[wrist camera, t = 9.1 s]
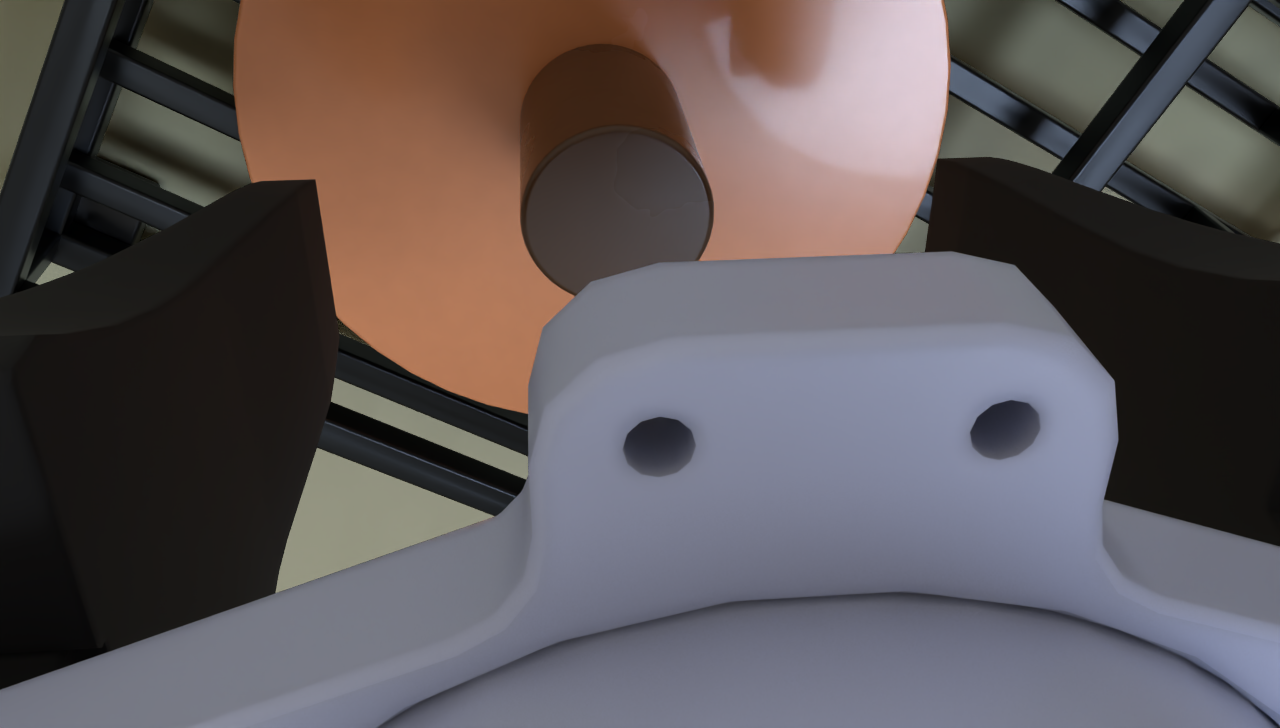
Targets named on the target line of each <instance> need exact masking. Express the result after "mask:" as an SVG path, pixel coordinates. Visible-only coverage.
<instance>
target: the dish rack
mask: <svg viewBox="0 0 1280 728" xmlns="http://www.w3.org/2000/svg"><path fill="white" fill-rule="evenodd" d="M233 1H235V2H237V3H239V4H240V0H233ZM1055 1H1057V2H1058V3H1060V4H1061V5H1063V6H1064V7H1066V8H1067V9H1069V10H1070V11H1072V12H1073V13H1075V14H1077V15H1078V16H1080V17H1081V18H1083V19H1084V20H1086V21H1087V22H1089V23H1090V24H1092V25H1093V26H1095V27H1097V28H1098V29H1100V30H1101V31H1103V32H1104V33H1106V34H1107V35H1109V36H1110V37H1112V38H1113V39H1115V40H1117V41H1118V42H1120V43H1121V44H1123V45H1124V46H1126V47H1127V48H1129V49H1130V50H1132V51H1134V52H1135V53H1137V54H1138V55H1140V56H1141V57H1140V59H1139V60H1138V61H1137V63H1136V64H1135V65H1134V67H1133V68H1132V69H1131V71H1130V72H1129V73H1128V74H1127V76H1126V77H1125V78H1124V80H1123V81H1122V82H1121V84H1120V85H1119V86H1118V87H1117V89H1116V90H1115V91H1114V93H1113V94H1112V95H1111V97H1110V98H1109V99H1108V101H1107V102H1106V103H1105V104H1104V106H1103V107H1102V108H1101V110H1100V111H1099V112H1098V114H1097V115H1096V116H1095V118H1094V119H1093V120H1092V121H1091V123H1090V124H1089V125H1088V127H1087V128H1086V129H1085V131H1084V132H1083V133H1082V134H1081V133H1080V132H1078V131H1077V130H1075V129H1073V128H1072V127H1070V126H1068V125H1067V124H1065V123H1063V122H1062V121H1060V120H1058V119H1057V118H1055V117H1054V116H1052V115H1050V114H1049V113H1047V112H1045V111H1044V110H1042V109H1040V108H1039V107H1037V106H1035V105H1034V104H1032V103H1030V102H1029V101H1027V100H1026V99H1024V98H1022V97H1021V96H1019V95H1017V94H1016V93H1014V92H1012V91H1011V90H1009V89H1007V88H1006V87H1004V86H1002V85H1001V84H999V83H998V82H996V81H994V80H993V79H991V78H989V77H988V76H986V75H984V74H983V73H981V72H979V71H978V70H976V69H974V68H973V67H971V66H970V65H968V64H966V63H965V62H963V61H961V60H960V59H958V58H956V57H955V56H953V55H951V54H950V61H951V70H950V84H949V94H950V95H952V96H954V97H955V98H957V99H959V100H961V101H962V102H964V103H966V104H967V105H969V106H971V107H972V108H974V109H976V110H977V111H979V112H981V113H982V114H984V115H986V116H987V117H989V118H991V119H993V120H994V121H996V122H998V123H999V124H1001V125H1003V126H1004V127H1006V128H1008V129H1009V130H1011V131H1013V132H1014V133H1016V134H1018V135H1020V136H1021V137H1023V138H1025V139H1026V140H1028V141H1030V142H1031V143H1033V144H1035V145H1036V146H1038V147H1040V148H1041V149H1043V150H1045V151H1046V152H1048V153H1050V154H1052V155H1053V156H1055V157H1057V158H1058V159H1060V160H1062V161H1061V162H1060V163H1059V165H1058V166H1057V167H1056V169H1055V170H1054V171H1053V172H1052V174H1054V175H1056V176H1059V177H1062V178H1065V179H1067V180H1070V181H1073V182H1076V183H1078V184H1081V185H1084V186H1086V187H1089V188H1092V189H1095V190H1097V191H1100V192H1101V191H1102V190H1103V189H1104V187H1107V188H1109V189H1111V190H1112V191H1114V192H1116V193H1117V194H1119V195H1121V196H1122V197H1124V198H1126V199H1127V200H1129V201H1131V202H1132V203H1134V204H1137V205H1140V206H1143V207H1145V208H1148V209H1151V210H1155V211H1158V212H1161V213H1164V214H1167V215H1171V216H1174V217H1177V218H1180V219H1183V220H1187V221H1190V222H1193V223H1197V224H1200V225H1204V226H1207V227H1211V228H1215V229H1219V230H1222V231H1227V232H1231V233H1235V234H1240V235H1244V236H1248V237H1251V236H1249V235H1248V234H1246V233H1245V232H1243V231H1241V230H1240V229H1238V228H1236V227H1235V226H1233V225H1231V224H1230V223H1228V222H1226V221H1225V220H1223V219H1221V218H1220V217H1218V216H1217V215H1215V214H1213V213H1212V212H1210V211H1208V210H1207V209H1205V208H1203V207H1202V206H1200V205H1198V204H1197V203H1195V202H1193V201H1192V200H1190V199H1189V198H1187V197H1185V196H1184V195H1182V194H1180V193H1179V192H1177V191H1175V190H1174V189H1172V188H1170V187H1169V186H1167V185H1165V184H1164V183H1162V182H1161V181H1159V180H1157V179H1156V178H1154V177H1152V176H1151V175H1149V174H1147V173H1146V172H1144V171H1142V170H1141V169H1139V168H1137V167H1136V166H1134V165H1133V164H1131V163H1129V162H1128V161H1126V160H1127V158H1128V157H1129V156H1130V155H1131V153H1132V152H1133V151H1134V150H1135V148H1136V147H1137V146H1138V144H1139V143H1140V142H1141V141H1142V139H1143V138H1144V137H1145V136H1146V134H1147V133H1148V132H1149V131H1150V129H1151V128H1152V127H1153V126H1154V124H1155V123H1156V122H1157V120H1158V119H1159V118H1160V117H1161V115H1162V114H1163V113H1164V112H1165V110H1166V109H1167V108H1168V107H1169V105H1170V104H1171V103H1172V102H1173V100H1174V99H1175V98H1176V96H1177V95H1178V94H1179V93H1180V91H1181V90H1182V89H1183V88H1184V86H1185V85H1186V86H1187V87H1189V88H1190V89H1192V90H1194V91H1195V92H1197V93H1198V94H1200V95H1201V96H1203V97H1204V98H1206V99H1207V100H1209V101H1210V102H1212V103H1214V104H1215V105H1217V106H1218V107H1220V108H1221V109H1223V110H1224V111H1226V112H1227V113H1229V114H1231V115H1232V116H1234V117H1235V118H1237V119H1238V120H1240V121H1241V122H1243V123H1244V124H1246V125H1247V126H1249V127H1251V128H1252V129H1254V130H1255V131H1257V132H1258V133H1260V134H1261V135H1263V136H1264V137H1266V138H1267V139H1269V140H1271V141H1272V142H1274V143H1275V144H1277V145H1278V146H1280V107H1279V106H1277V105H1276V104H1274V103H1273V102H1271V101H1270V100H1268V99H1267V98H1265V97H1264V96H1262V95H1261V94H1259V93H1258V92H1256V91H1255V90H1253V89H1252V88H1250V87H1249V86H1247V85H1246V84H1244V83H1243V82H1241V81H1240V80H1238V79H1237V78H1235V77H1234V76H1232V75H1231V74H1229V73H1228V72H1226V71H1225V70H1223V69H1222V68H1220V67H1219V66H1217V65H1216V64H1214V63H1213V62H1211V61H1210V60H1208V59H1207V57H1208V56H1209V55H1210V54H1211V52H1212V51H1213V50H1214V48H1215V47H1216V46H1217V45H1218V43H1219V42H1220V41H1221V40H1222V38H1223V37H1224V36H1225V35H1226V33H1227V32H1228V31H1229V30H1230V28H1231V27H1232V26H1233V24H1234V23H1235V22H1236V21H1237V19H1238V18H1239V17H1240V16H1241V14H1242V13H1243V12H1244V11H1245V9H1246V8H1247V7H1248V6H1250V7H1252V8H1253V9H1255V10H1256V11H1258V12H1259V13H1261V14H1262V15H1263V16H1265V17H1266V18H1268V19H1269V20H1271V21H1272V22H1273V23H1275V24H1276V25H1278V26H1279V27H1280V0H1184V1H1183V3H1182V4H1181V5H1180V6H1179V8H1178V9H1177V10H1176V12H1175V13H1174V14H1173V16H1172V17H1171V18H1170V20H1169V21H1168V22H1167V23H1166V25H1165V26H1164V27H1163V29H1162V28H1160V27H1159V26H1157V25H1156V24H1154V23H1153V22H1151V21H1150V20H1148V19H1147V18H1145V17H1144V16H1142V15H1141V14H1139V13H1138V12H1136V11H1135V10H1133V9H1132V8H1130V7H1129V6H1127V5H1126V4H1124V3H1123V2H1121V1H1120V0H1055ZM153 2H154V0H65V1H64V4H63V7H62V10H61V13H60V16H59V19H58V22H57V25H56V28H55V31H54V34H53V37H52V40H51V43H50V46H49V49H48V52H47V55H46V58H45V61H44V64H43V67H42V70H41V73H40V76H39V79H38V82H37V85H36V88H35V91H34V94H33V97H32V100H31V103H30V106H29V109H28V112H27V115H26V118H25V121H24V124H23V127H22V130H21V133H20V136H19V139H18V142H17V145H16V148H15V151H14V154H13V157H12V160H11V163H10V166H9V169H8V172H7V175H6V178H5V181H4V184H3V187H2V190H1V193H0V297H4V296H7V295H11V294H15V293H18V292H21V291H24V290H27V289H30V288H33V287H36V286H38V284H36V283H35V282H36V281H37V280H38V279H39V277H40V276H41V275H42V273H43V272H44V271H45V270H46V268H47V267H48V266H49V265H50V263H51V262H52V263H55V264H57V265H60V266H62V267H65V268H67V269H70V270H72V271H75V272H76V271H78V270H81V269H83V268H86V267H88V266H90V265H93V264H95V263H97V262H99V261H102V260H104V259H106V258H108V257H110V256H112V255H114V254H116V253H118V252H120V251H122V250H124V249H126V248H128V247H130V246H132V245H134V244H136V243H138V242H139V241H140V238H141V236H142V233H143V231H144V228H145V226H146V224H147V225H150V226H152V227H154V228H157V229H159V230H161V231H162V230H164V229H166V228H168V227H170V226H172V225H173V224H175V223H177V222H179V221H181V220H182V219H184V218H186V217H188V216H190V215H191V214H193V213H195V212H197V211H199V210H200V209H202V208H204V207H203V206H201V205H198V204H196V203H194V202H191V201H189V200H187V199H185V198H182V197H180V196H178V195H176V194H173V193H171V192H169V191H166V190H164V189H162V188H160V185H159V184H157V183H155V182H153V181H151V180H148V179H146V178H144V177H142V176H139V175H137V174H135V173H132V172H130V171H128V170H126V169H123V168H121V167H119V166H117V165H114V164H112V163H110V162H108V161H105V160H103V159H101V158H98V157H97V154H98V151H99V148H100V146H101V143H102V140H103V138H104V135H105V132H106V129H107V127H108V124H109V121H110V119H111V116H112V113H113V110H114V108H115V105H116V102H117V100H118V97H119V94H120V91H121V89H122V87H123V88H125V89H128V90H130V91H132V92H134V93H136V94H138V95H141V96H143V97H145V98H147V99H149V100H151V101H154V102H156V103H158V104H160V105H162V106H164V107H167V108H169V109H171V110H173V111H175V112H177V113H180V114H182V115H184V116H186V117H188V118H190V119H192V120H195V121H197V122H199V123H201V124H203V125H205V126H208V127H210V128H212V129H214V130H216V131H218V132H221V133H223V134H225V135H227V136H229V137H231V138H234V139H236V140H238V141H240V137H239V133H238V126H237V117H236V108H235V99H234V95H231V94H229V93H227V92H225V91H223V90H221V89H219V88H217V87H215V86H213V85H210V84H208V83H206V82H204V81H202V80H200V79H198V78H196V77H194V76H191V75H189V74H187V73H185V72H183V71H181V70H179V69H177V68H175V67H172V66H170V65H168V64H166V63H164V62H162V61H160V60H158V59H156V58H154V57H151V56H149V55H147V54H145V53H143V52H141V51H139V50H137V49H136V48H137V45H138V42H139V40H140V37H141V34H142V32H143V29H144V26H145V23H146V21H147V18H148V15H149V13H150V10H151V7H152V4H153ZM240 142H241V141H240ZM933 189H934V188H932V187H931V186H929V185H928V188H927V191H926V194H925V197H924V199H923V201H922V203H921V205H920V207H919V209H918V211H917V213H916V215H915V217H917V218H919V219H920V220H922V221H924V222H926V223H928V224H929V219H930V212H931V204H932V197H933ZM339 337H340V338H339V346H338V354H337V362H336V370H335V378H337V379H340V380H342V381H344V382H347V383H349V384H352V385H354V386H357V387H359V388H362V389H364V390H366V391H369V392H371V393H374V394H376V395H379V396H381V397H384V398H386V399H389V400H391V401H393V402H396V403H398V404H401V405H403V406H406V407H408V408H411V409H413V410H416V411H418V412H420V413H423V414H425V415H428V416H430V417H433V418H435V419H438V420H440V421H443V422H445V423H447V424H450V425H452V426H455V427H457V428H460V429H462V430H465V431H467V432H470V433H472V434H474V435H477V436H479V437H482V438H484V439H487V440H489V441H492V442H494V443H497V444H499V445H501V446H504V447H506V448H509V449H511V450H514V451H516V452H519V453H521V454H524V455H526V456H528V414H525V413H521V412H517V411H512V410H508V409H504V408H499V407H495V406H490V405H487V404H484V403H481V402H478V401H475V400H472V399H469V398H467V397H464V396H461V395H458V394H455V393H452V392H450V391H447V390H445V389H443V388H441V387H439V386H437V385H435V384H433V383H431V382H429V381H427V380H425V379H423V378H421V377H418V376H416V375H414V374H412V373H411V372H409V371H407V370H406V369H404V368H403V367H401V366H400V365H398V364H396V363H395V362H393V361H392V360H390V359H389V358H387V357H386V356H384V355H382V354H381V353H379V352H378V351H376V350H375V349H374V348H372V347H370V346H368V345H365V344H363V343H360V342H358V341H356V340H353V339H351V338H349V337H346V336H344V335H341V334H339ZM317 448H320V449H322V450H325V451H327V452H330V453H332V454H335V455H338V456H340V457H343V458H345V459H348V460H351V461H353V462H356V463H358V464H361V465H364V466H366V467H369V468H371V469H374V470H377V471H379V472H382V473H384V474H387V475H390V476H392V477H395V478H397V479H400V480H403V481H405V482H408V483H410V484H413V485H415V486H418V487H421V488H423V489H426V490H428V491H431V492H434V493H436V494H439V495H441V496H444V497H447V498H449V499H452V500H454V501H457V502H460V503H462V504H465V505H467V506H470V507H473V508H475V509H478V510H480V511H483V512H485V513H488V514H491V515H493V516H497V515H498V514H500V513H501V512H502V511H503V510H504V509H505V508H506V507H507V506H508V505H509V504H510V503H511V502H512V501H513V500H514V499H515V498H516V497H517V496H518V495H519V494H520V493H521V491H522V490H523V487H524V485H525V482H526V480H525V479H523V478H520V477H518V476H515V475H513V474H510V473H508V472H505V471H503V470H500V469H498V468H495V467H493V466H490V465H488V464H485V463H483V462H480V461H478V460H475V459H473V458H470V457H468V456H465V455H463V454H460V453H458V452H455V451H453V450H450V449H448V448H445V447H443V446H440V445H438V444H435V443H433V442H430V441H428V440H425V439H423V438H420V437H418V436H415V435H413V434H410V433H408V432H405V431H403V430H401V429H398V428H396V427H393V426H391V425H388V424H386V423H383V422H381V421H378V420H376V419H373V418H371V417H368V416H366V415H363V414H361V413H358V412H356V411H353V410H351V409H348V408H346V407H343V406H341V405H338V404H336V403H333V402H331V403H330V406H329V409H328V413H327V416H326V419H325V423H324V426H323V429H322V432H321V435H320V439H319V442H318V445H317Z"/></svg>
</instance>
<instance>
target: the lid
mask: <svg viewBox="0 0 1280 728" xmlns="http://www.w3.org/2000/svg"><path fill="white" fill-rule="evenodd" d="M950 70H951V61H950V45H949V29H948V18H947V13H946V8H945V3H944V0H240V6H239V12H238V18H237V24H236V30H235V36H234V66H233V91H234V99H235V108H236V117H237V126H238V133H239V137H240V141H241V145H242V149H243V153H244V157H245V161H246V165H247V169H248V173H249V177H250V179H251V182H252V183H255V182H259V181H276V180H307V179H315V180H316V186H317V193H318V199H319V206H320V212H321V219H322V225H323V232H324V239H325V245H326V252H327V258H328V265H329V271H330V278H331V284H332V291H333V298H334V304H335V311H336V316H337V317H338V318H339V319H340V320H341V321H342V322H343V324H345V325H346V326H347V327H348V328H349V329H351V330H352V331H353V332H354V333H356V334H357V335H358V336H359V337H360V338H362V339H363V340H364V341H365V342H366V343H368V344H369V345H370V346H371V347H373V348H374V349H375V350H376V351H378V352H379V353H381V354H382V355H384V356H386V357H387V358H389V359H390V360H392V361H393V362H395V363H396V364H398V365H400V366H401V367H403V368H404V369H406V370H407V371H409V372H411V373H412V374H414V375H416V376H418V377H421V378H423V379H425V380H427V381H429V382H431V383H433V384H435V385H437V386H439V387H441V388H443V389H445V390H447V391H450V392H452V393H455V394H458V395H461V396H464V397H467V398H469V399H472V400H475V401H478V402H481V403H484V404H487V405H490V406H495V407H499V408H504V409H508V410H512V411H517V412H521V413H525V414H528V384H529V380H530V376H531V372H532V368H533V364H534V360H535V356H536V352H537V348H538V344H539V340H540V336H541V332H542V329H543V327H544V326H545V325H546V324H547V323H548V322H549V321H550V320H551V319H552V318H553V317H554V316H555V315H556V314H557V313H559V312H560V311H561V310H562V309H563V308H564V307H565V306H566V305H567V304H568V303H569V302H570V301H571V300H572V299H573V298H574V297H575V296H576V295H577V294H578V293H579V292H580V291H582V290H583V289H584V288H585V287H586V286H587V285H588V284H589V283H590V282H592V281H595V280H599V279H602V278H606V277H609V276H613V275H617V274H620V273H624V272H627V271H631V270H634V269H638V268H641V267H645V266H649V265H652V264H656V263H663V262H689V261H715V260H741V259H767V258H793V257H819V256H845V255H871V254H894V253H895V251H896V250H897V248H898V247H899V245H900V243H901V242H902V240H903V239H904V237H905V236H906V234H907V232H908V230H909V228H910V226H911V224H912V222H913V219H914V217H915V215H916V213H917V211H918V209H919V207H920V205H921V203H922V201H923V199H924V197H925V194H926V191H927V188H928V185H929V182H930V179H931V176H932V173H933V170H934V167H935V164H936V161H937V158H938V155H939V151H940V146H941V141H942V136H943V131H944V126H945V121H946V116H947V111H948V99H949V84H950Z"/></svg>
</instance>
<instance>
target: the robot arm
mask: <svg viewBox="0 0 1280 728" xmlns="http://www.w3.org/2000/svg"><path fill="white" fill-rule="evenodd" d="M339 338H340V337H339V330H338V324H337V317H336V311H335V304H334V298H333V291H332V284H331V278H330V271H329V265H328V258H327V252H326V245H325V239H324V232H323V225H322V219H321V212H320V206H319V199H318V193H317V186H316V180H315V179H307V180H276V181H259V182H255V183H251V184H249V185H246V186H244V187H242V188H240V189H238V190H236V191H234V192H232V193H230V194H228V195H226V196H224V197H222V198H220V199H218V200H217V201H215V202H213V203H211V204H209V205H208V206H206V207H204V208H202V209H200V210H199V211H197V212H195V213H193V214H191V215H190V216H188V217H186V218H184V219H182V220H181V221H179V222H177V223H175V224H173V225H172V226H170V227H168V228H166V229H164V230H162V231H160V232H158V233H156V234H154V235H152V236H150V237H148V238H146V239H144V240H142V241H140V242H138V243H136V244H134V245H132V246H130V247H128V248H126V249H124V250H122V251H120V252H118V253H116V254H114V255H112V256H110V257H108V258H106V259H104V260H102V261H99V262H97V263H95V264H93V265H90V266H88V267H86V268H83V269H81V270H78V271H76V272H73V273H71V274H68V275H66V276H63V277H60V278H58V279H55V280H52V281H49V282H47V283H44V284H41V285H38V286H36V287H33V288H30V289H27V290H24V291H21V292H18V293H15V294H11V295H7V296H4V297H0V728H1280V244H1279V243H1275V242H1270V241H1266V240H1261V239H1257V238H1253V237H1248V236H1244V235H1240V234H1235V233H1231V232H1227V231H1222V230H1219V229H1215V228H1211V227H1207V226H1204V225H1200V224H1197V223H1193V222H1190V221H1187V220H1183V219H1180V218H1177V217H1174V216H1171V215H1167V214H1164V213H1161V212H1158V211H1155V210H1151V209H1148V208H1145V207H1143V206H1140V205H1137V204H1134V203H1131V202H1128V201H1125V200H1122V199H1119V198H1117V197H1114V196H1111V195H1108V194H1106V193H1103V192H1100V191H1097V190H1095V189H1092V188H1089V187H1086V186H1084V185H1081V184H1078V183H1076V182H1073V181H1070V180H1067V179H1065V178H1062V177H1059V176H1056V175H1054V174H1051V173H1048V172H1045V171H1042V170H1039V169H1037V168H1034V167H1030V166H1027V165H1024V164H1021V163H1017V162H1013V161H1010V160H1005V159H1000V158H992V157H977V158H947V159H937V167H936V174H935V182H934V189H933V197H932V204H931V212H930V219H929V226H928V234H927V241H926V249H925V252H923V253H897V254H871V255H845V256H819V257H793V258H767V259H741V260H715V261H689V262H663V263H656V264H652V265H649V266H645V267H641V268H638V269H634V270H631V271H627V272H624V273H620V274H617V275H613V276H609V277H606V278H602V279H599V280H595V281H592V282H590V283H589V284H588V285H587V286H586V287H585V288H584V289H583V290H582V291H580V292H579V293H578V294H577V295H576V296H575V297H574V298H573V299H572V300H571V301H570V302H569V303H568V304H567V305H566V306H565V307H564V308H563V309H562V310H561V311H560V312H559V313H557V314H556V315H555V316H554V317H553V318H552V319H551V320H550V321H549V322H548V323H547V324H546V325H545V326H544V327H543V329H542V332H541V336H540V340H539V344H538V348H537V352H536V356H535V360H534V364H533V368H532V372H531V376H530V380H529V384H528V473H529V475H528V478H527V480H526V482H525V485H524V487H523V490H522V491H521V493H520V494H519V495H518V496H517V497H516V498H515V499H514V500H513V501H512V502H511V503H510V504H509V505H508V506H507V507H506V508H505V509H504V510H503V511H502V512H501V513H500V514H498V515H497V516H495V517H492V518H489V519H487V520H484V521H481V522H478V523H475V524H472V525H469V526H467V527H464V528H461V529H458V530H455V531H452V532H449V533H447V534H444V535H441V536H438V537H435V538H432V539H429V540H427V541H424V542H421V543H418V544H415V545H412V546H409V547H407V548H404V549H401V550H398V551H395V552H392V553H389V554H387V555H384V556H381V557H378V558H375V559H372V560H369V561H367V562H364V563H361V564H358V565H355V566H352V567H350V568H347V569H344V570H341V571H338V572H335V573H332V574H330V575H327V576H324V577H321V578H318V579H315V580H312V581H310V582H307V583H304V584H301V585H298V586H295V587H292V588H290V589H287V590H284V591H281V592H278V593H275V591H276V586H277V580H278V574H279V569H280V566H281V562H282V558H283V554H284V550H285V546H286V542H287V539H288V536H289V532H290V529H291V526H292V523H293V520H294V517H295V514H296V511H297V508H298V504H299V501H300V498H301V495H302V492H303V489H304V486H305V483H306V480H307V476H308V473H309V470H310V467H311V464H312V461H313V458H314V455H315V452H316V448H317V445H318V442H319V439H320V435H321V432H322V429H323V426H324V423H325V419H326V416H327V413H328V409H329V406H330V403H331V397H332V390H333V383H334V377H335V370H336V362H337V354H338V346H339Z"/></svg>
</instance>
